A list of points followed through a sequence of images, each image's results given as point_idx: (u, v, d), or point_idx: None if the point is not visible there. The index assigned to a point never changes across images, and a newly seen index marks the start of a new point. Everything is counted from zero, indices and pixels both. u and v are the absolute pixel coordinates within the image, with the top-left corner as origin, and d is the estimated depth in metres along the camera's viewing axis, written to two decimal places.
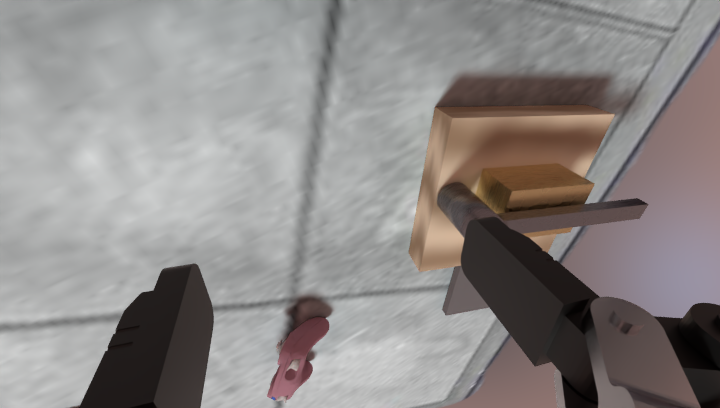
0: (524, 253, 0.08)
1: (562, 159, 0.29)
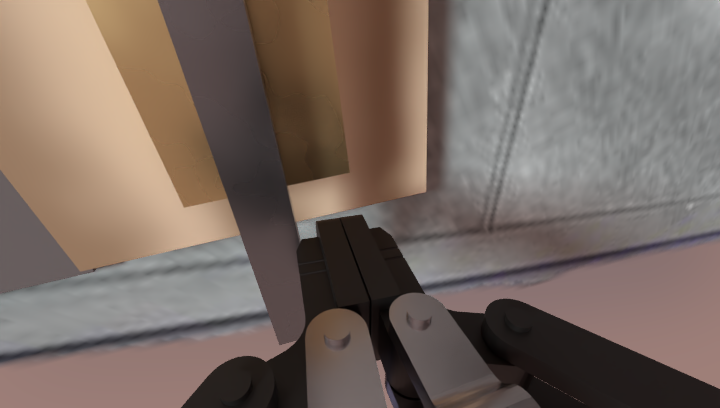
0: (366, 250, 0.08)
1: None
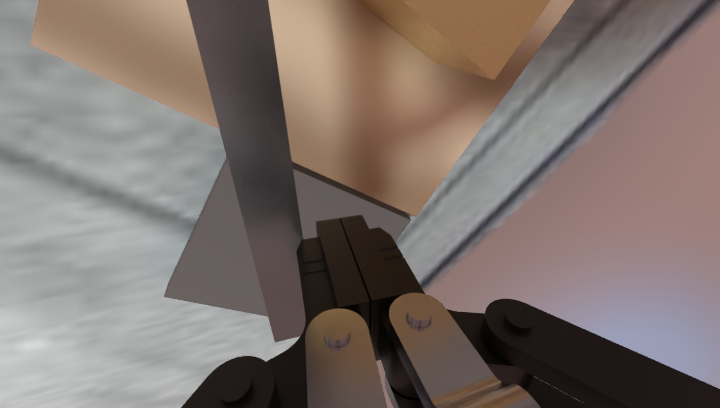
0: (366, 250, 0.08)
1: None
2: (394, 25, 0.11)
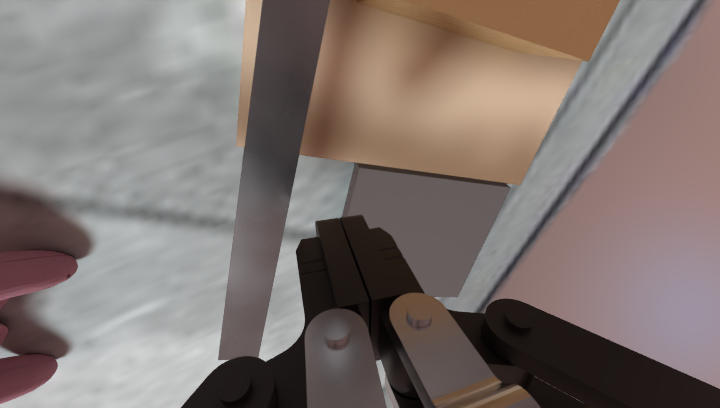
0: (367, 250, 0.08)
1: None
2: (481, 39, 0.13)
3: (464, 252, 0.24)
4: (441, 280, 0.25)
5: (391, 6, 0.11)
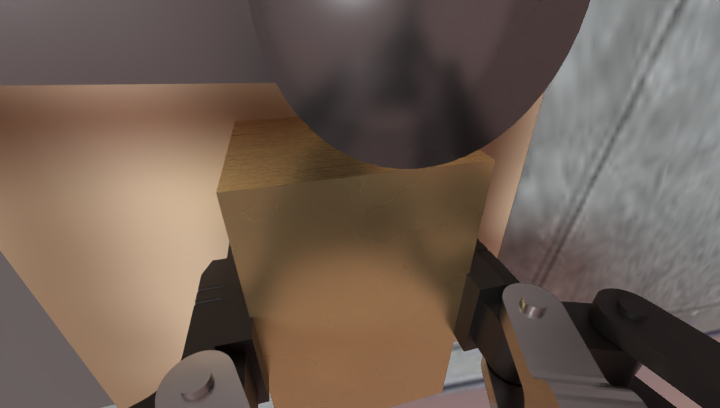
0: None
1: None
2: None
3: None
4: None
5: None
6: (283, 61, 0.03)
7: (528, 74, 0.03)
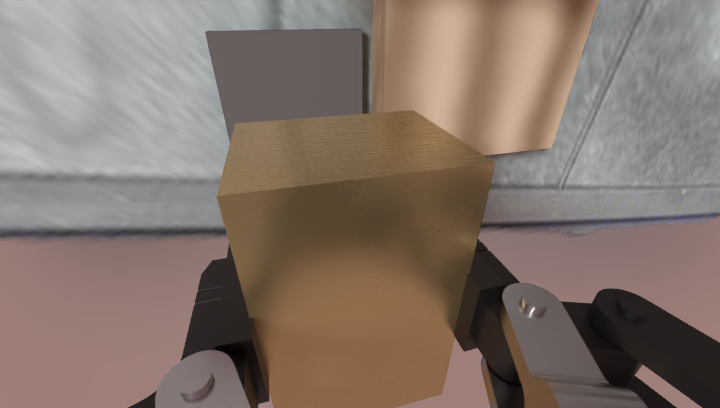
0: None
1: (522, 109, 0.26)
2: None
3: None
4: None
5: None
6: None
7: None
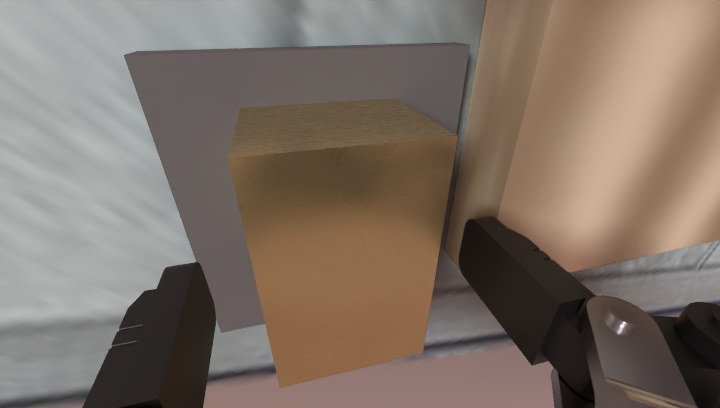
0: (521, 252, 0.08)
1: None
2: None
3: None
4: (253, 287, 0.13)
5: None
6: None
7: None
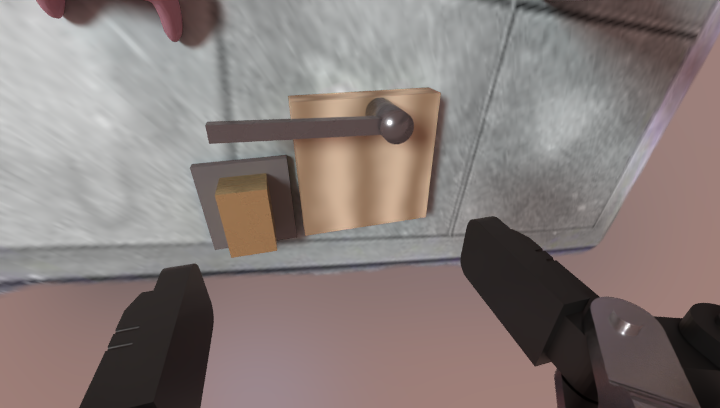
0: (524, 253, 0.08)
1: (398, 197, 0.40)
2: None
3: None
4: None
5: None
6: (384, 134, 0.29)
7: (408, 134, 0.29)
